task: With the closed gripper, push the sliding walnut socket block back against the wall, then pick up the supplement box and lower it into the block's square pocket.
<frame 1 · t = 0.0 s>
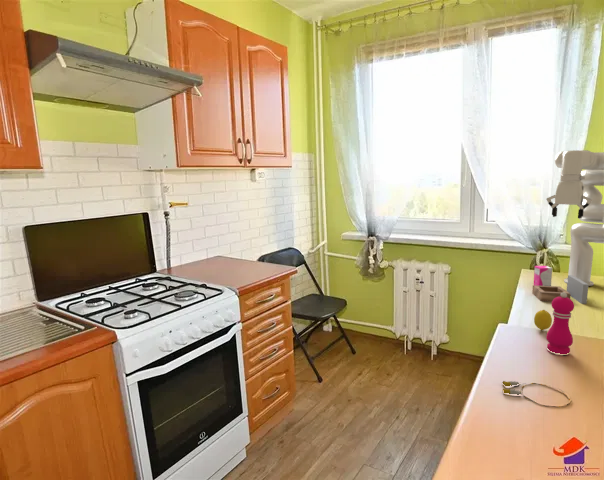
hand: (566, 217, 176), 37 cm above the table, tool pointing down, fingers open, 9 cm apart
lemon: (541, 331, 144), on the table
socket block: (550, 293, 180), point 2 cm above the table, slide at 4.0 cm
extension cord: (534, 395, 104), on the table
pepper mill: (558, 352, 127), on the table
backstop wall: (575, 298, 179), on the table
supplement box: (541, 289, 194), on the table
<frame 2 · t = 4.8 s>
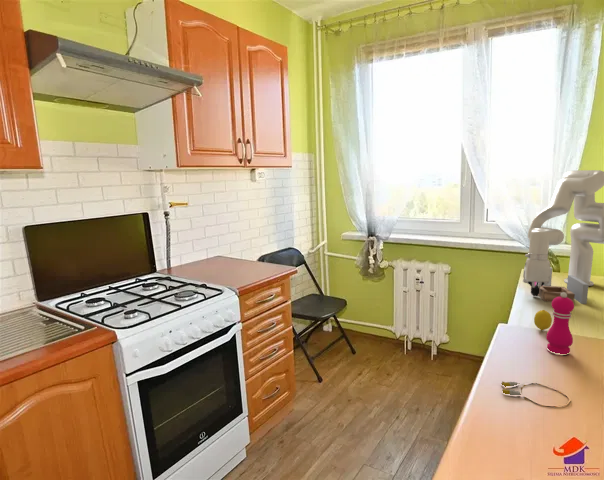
hand: (534, 295, 182), 1 cm above the table, tool pointing down, fingers closed
socket block: (554, 293, 179), point 2 cm above the table, slide at 2.4 cm, touching gripper
everything else where it was.
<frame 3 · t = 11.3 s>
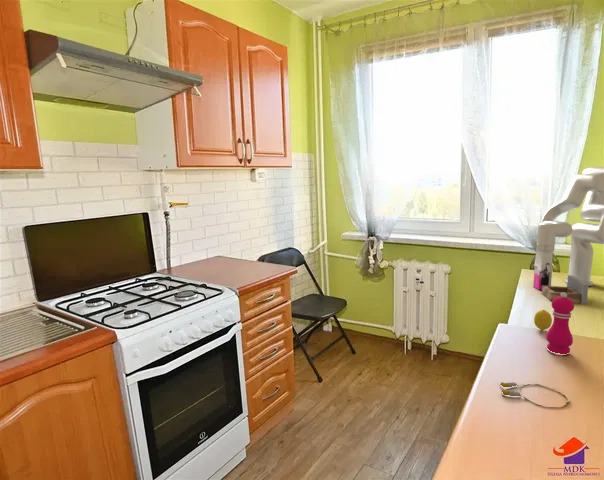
hand: (542, 283, 194), 3 cm above the table, tool pointing down, fingers closed on supplement box, 6 cm apart
socket block: (560, 294, 179), point 2 cm above the table, slide at 0.0 cm
supplement box: (541, 289, 194), on the table, touching gripper
everything else where it was.
when the fingers open (6 cm above the table, at t = 16.5 s): supplement box drops 1 cm, resting on socket block.
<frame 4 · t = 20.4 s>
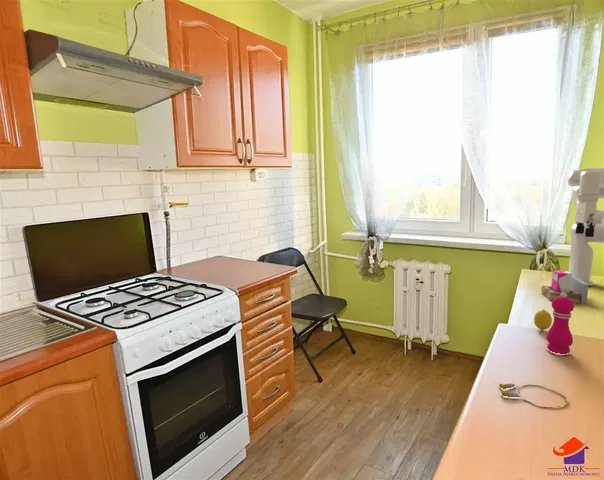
hand: (584, 235, 182), 28 cm above the table, tool pointing down, fingers open, 9 cm apart
socket block: (560, 294, 179), point 2 cm above the table, slide at 0.0 cm, touching supplement box
supplement box: (559, 296, 180), point 1 cm above the table, touching socket block
at the end: socket block slide at 0.0 cm; supplement box 0.5 cm off-centre on the socket block, point 0.8 cm above the socket block's base; supplement box tilted 0° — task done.
